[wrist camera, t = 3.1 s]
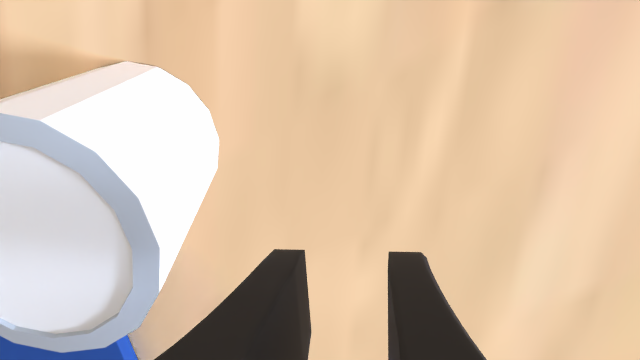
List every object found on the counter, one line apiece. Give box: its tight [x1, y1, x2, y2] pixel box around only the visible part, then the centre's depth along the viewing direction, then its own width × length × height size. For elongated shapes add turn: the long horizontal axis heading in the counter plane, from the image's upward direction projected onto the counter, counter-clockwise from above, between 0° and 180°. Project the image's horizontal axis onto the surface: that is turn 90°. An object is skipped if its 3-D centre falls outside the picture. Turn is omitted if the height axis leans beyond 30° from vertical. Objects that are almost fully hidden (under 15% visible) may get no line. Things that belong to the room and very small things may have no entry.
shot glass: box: [0, 61, 219, 353], centre depth 16 cm, size 7×7×7 cm
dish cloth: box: [0, 335, 138, 360], centre depth 24 cm, size 8×7×1 cm
